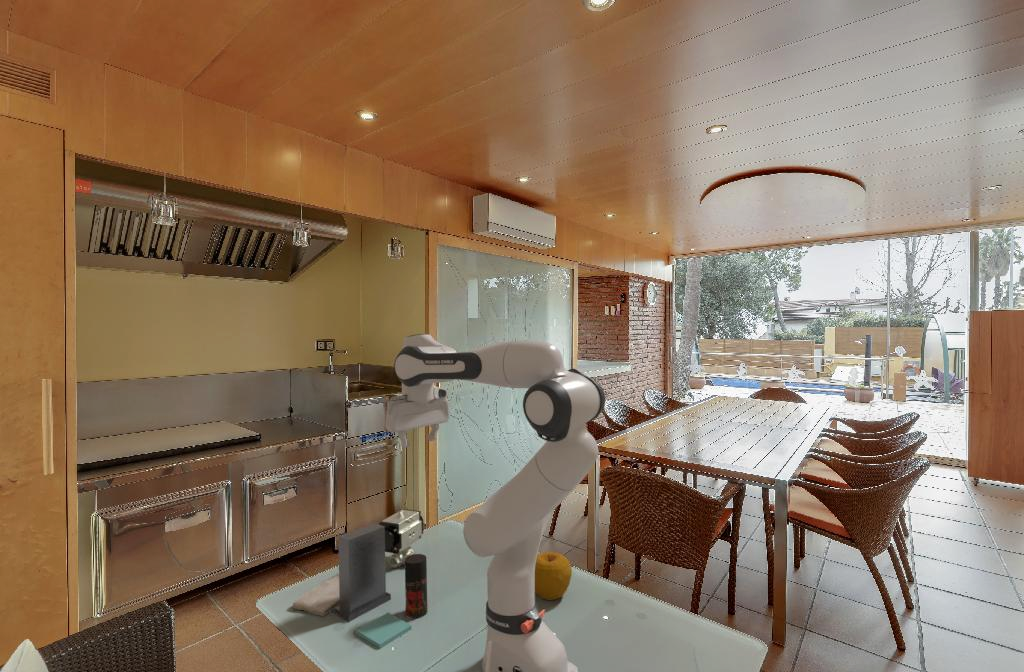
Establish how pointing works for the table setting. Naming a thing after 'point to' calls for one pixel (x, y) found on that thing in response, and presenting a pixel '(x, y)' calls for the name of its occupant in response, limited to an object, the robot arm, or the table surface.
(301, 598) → the washcloth
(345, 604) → the block
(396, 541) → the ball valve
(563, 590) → the apple
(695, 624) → the table surface
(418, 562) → the deodorant
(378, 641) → the plate
